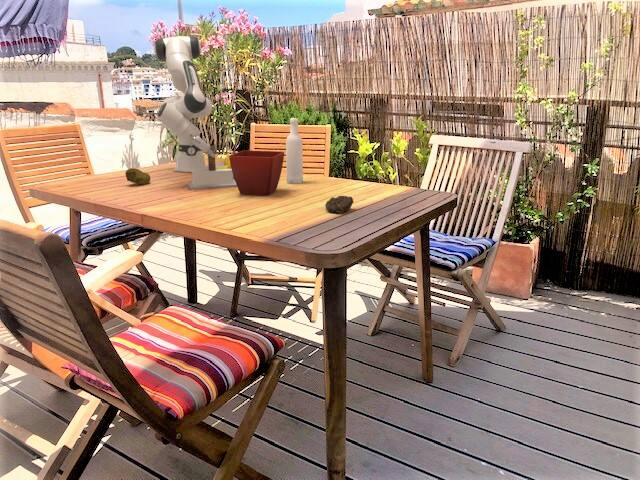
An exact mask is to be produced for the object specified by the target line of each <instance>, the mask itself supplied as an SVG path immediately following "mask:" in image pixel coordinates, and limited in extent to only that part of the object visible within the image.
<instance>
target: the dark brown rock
mask: <svg viewBox="0 0 640 480" xmlns="http://www.w3.org/2000/svg"><path fill="white" fill-rule="evenodd" d="M353 204H354V199H353V197H352V196H347V195H338V196H337V197H334V196H332V197H330V199H329V200H327V201H326V203H325V204H324V205H325V210H326V211H327V213H332V214H336V215H337V214H342V213H345V212H347V211H349V210H351V208H352V206H353Z"/></svg>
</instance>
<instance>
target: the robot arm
mask: <svg viewBox="0 0 640 480" xmlns="http://www.w3.org/2000/svg"><path fill="white" fill-rule="evenodd" d="M153 50H154V53H155V56H156V58H157V59H158V60H159V61H161V62H165V63H166V68H167V72H168V73H169V75H170V77H171V81H172V85H173V87H174V88H175V89H176V90H178V91H180V92H181V93H182V94H183V95H181V96H178V95H177V96H170V97H166V98H165V99H164V100H163V101H162V105H161V107H160V108H159V109H158V111H157V118H158V119H159V121H160V122H161V123H162V124H163V125H164V126H165V127H166V129H168V130H169V131H171V132H173V133H174V134H175V135H176V137H178V154H176V156H175V158H174V160H175V164H176V166H175V167H174V168H173V172H183V173H184V172H185V173H188V172H189V173H192V171H196V170H209V169H208V167H207V165H206V158H205V157H206V156H205V154H207V155H208V154H209V155H210V156H211V157H213V158H214V157H215V158H216V153H215V154H214V153H213V152H212V151H211V150H210V146H211V145H209V144H208V143H207V142H206V141H204V140H203V138H201V136H200V135H201V134H200V129H199V128H198V126H197V125H195V124H193V122H192V121H190V120H191V119H193V118H194V119H197V118H198V119H200V118H206V117H209V116H210V114H211V113H212V110H213V106H212V103H211V101H210V99H209V98H208V97H206V95H205V93H204V91H203V89H202V85H201V81H200V79H199V74H198V71H197V68H196V66H195V64H194V62H192V60H195V59H198V58H200V56H201V53H202V45H201V42H200V40H199V38H198V37H197V36H194V35H189V36H184V35H178V36H177V35H176V36H169V37H164V38H163V37H160V38H157V39H156V40H155V41H154V46H153Z"/></svg>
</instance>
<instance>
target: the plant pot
mask: <svg viewBox="0 0 640 480" xmlns="http://www.w3.org/2000/svg"><path fill="white" fill-rule="evenodd" d="M231 154H232V155H230V154H229V155H230V156H229V155H228V156H229V160H230V164H231V168H232V172H233V176H234V178H233V180H235V182H236V184H237V187H236V188H237V189H238V192H239V194H240V195H253V196H254V195H255V196H270V195H271V194H273V192H275V191H277V189H278V186H279V182H280V179H281V173H282V170H283V166H284V165H283V164H284V158H285V151H279V150H278V151H273V150H246V149H245V150H241V151H238V152H236V153H231Z"/></svg>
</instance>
